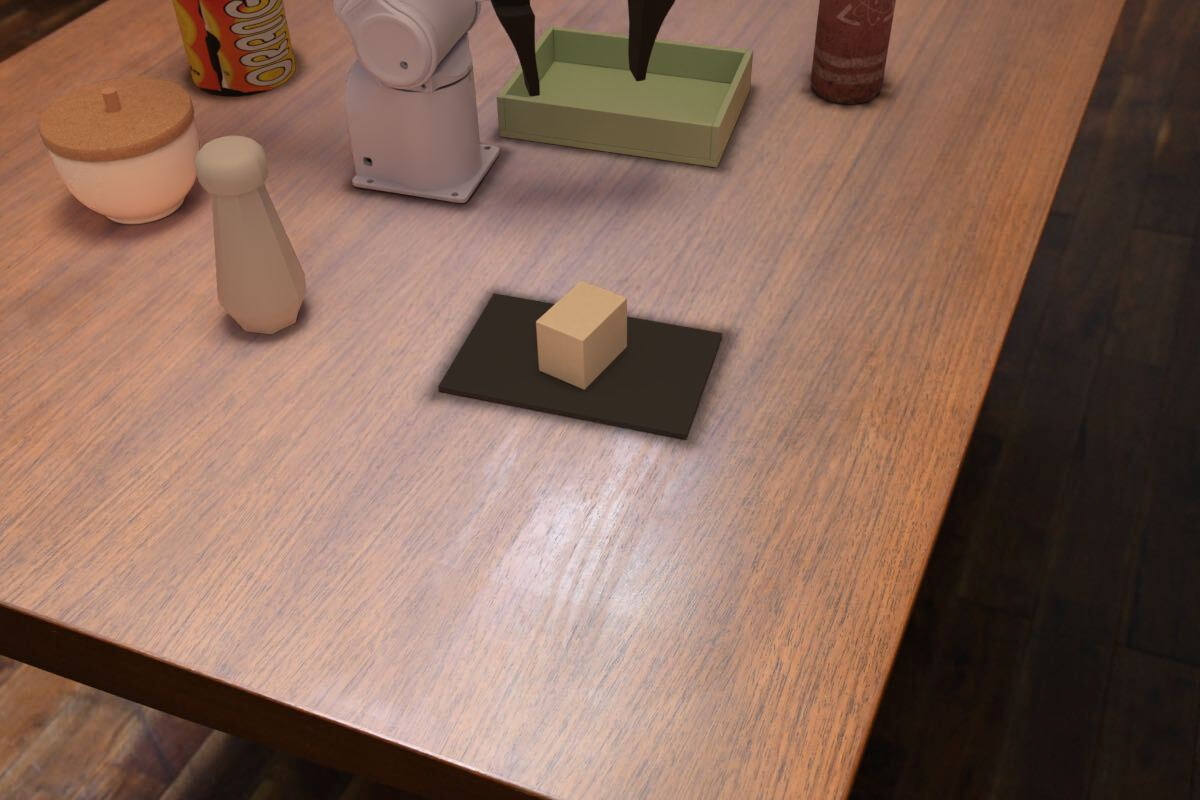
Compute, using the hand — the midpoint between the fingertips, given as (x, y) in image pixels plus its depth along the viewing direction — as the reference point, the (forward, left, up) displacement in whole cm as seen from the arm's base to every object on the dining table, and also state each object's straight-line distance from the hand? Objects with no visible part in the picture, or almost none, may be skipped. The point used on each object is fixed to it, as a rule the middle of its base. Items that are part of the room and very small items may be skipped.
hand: (585, 82), depth 86 cm
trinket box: (-32, -10, -10) cm, 35 cm away
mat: (+6, -19, -9) cm, 22 cm away
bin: (0, +13, -9) cm, 16 cm away
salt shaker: (-16, -20, -10) cm, 28 cm away
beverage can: (-35, +11, -10) cm, 38 cm away
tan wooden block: (+6, -19, -9) cm, 22 cm away
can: (+17, +22, -10) cm, 29 cm away
